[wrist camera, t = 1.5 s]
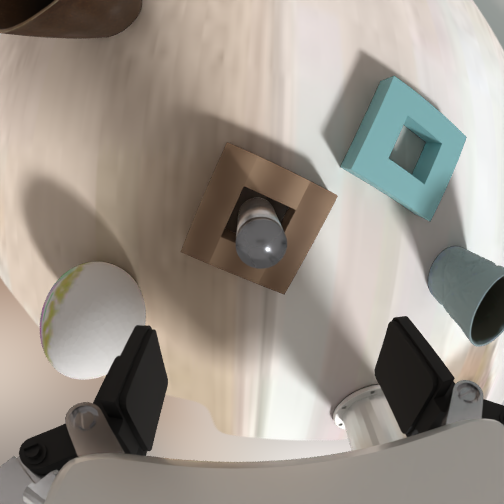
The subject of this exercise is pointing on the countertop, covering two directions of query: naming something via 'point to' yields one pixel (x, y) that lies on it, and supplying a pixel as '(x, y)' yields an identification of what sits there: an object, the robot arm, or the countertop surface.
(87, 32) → the plant pot
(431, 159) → the socket block
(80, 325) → the decorative egg
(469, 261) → the grey-blue cup
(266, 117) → the countertop surface
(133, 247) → the countertop surface
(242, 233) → the pin
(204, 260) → the mount block
